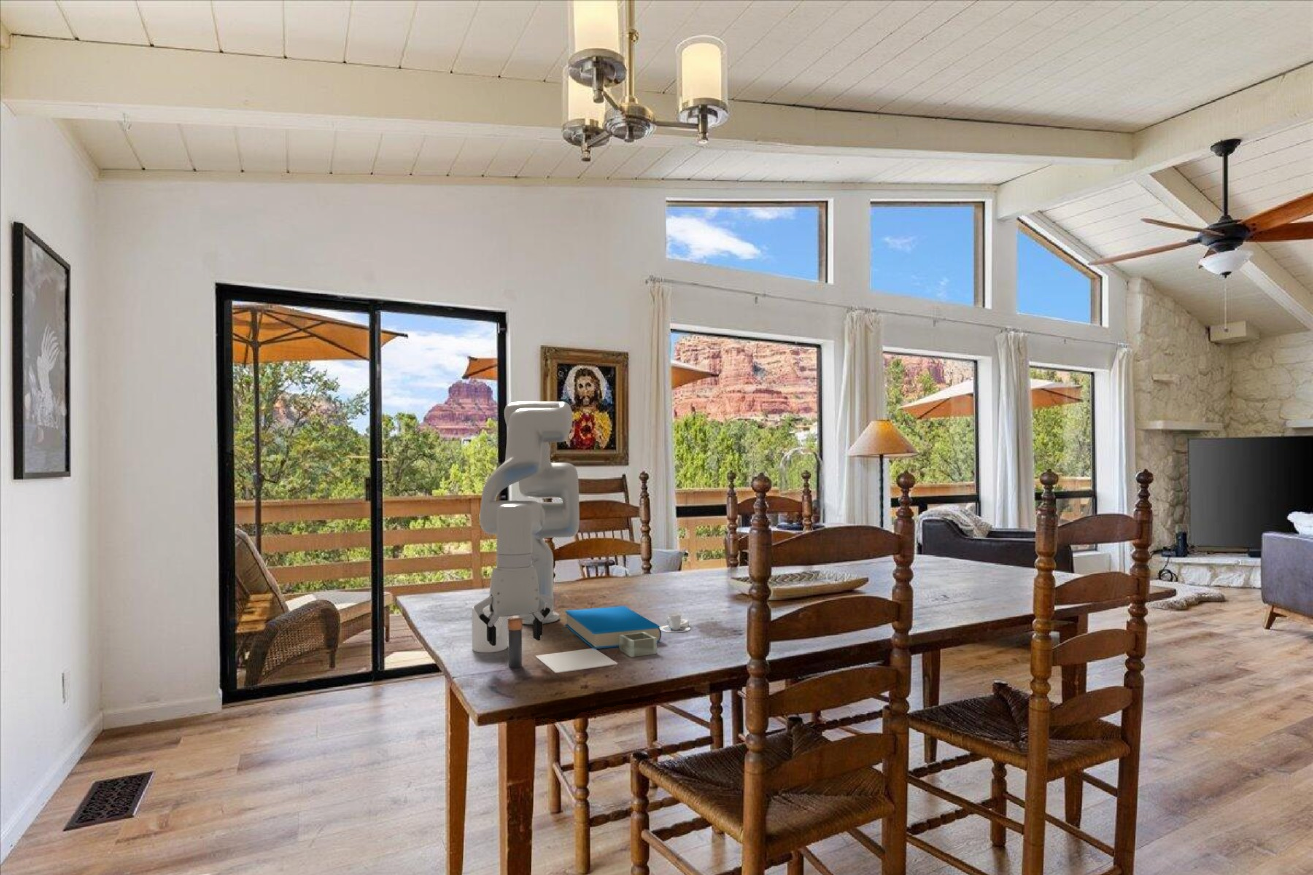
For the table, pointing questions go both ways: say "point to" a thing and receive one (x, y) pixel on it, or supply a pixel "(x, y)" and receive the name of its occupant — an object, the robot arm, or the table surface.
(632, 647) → the pen holder
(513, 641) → the marker
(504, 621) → the mug
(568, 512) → the robot arm
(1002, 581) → the table surface
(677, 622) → the teacup and saucer
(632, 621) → the book
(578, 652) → the paper
